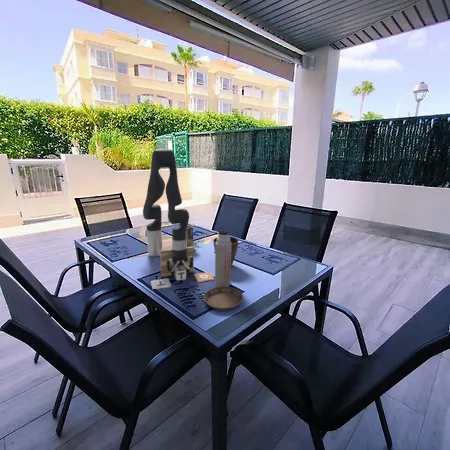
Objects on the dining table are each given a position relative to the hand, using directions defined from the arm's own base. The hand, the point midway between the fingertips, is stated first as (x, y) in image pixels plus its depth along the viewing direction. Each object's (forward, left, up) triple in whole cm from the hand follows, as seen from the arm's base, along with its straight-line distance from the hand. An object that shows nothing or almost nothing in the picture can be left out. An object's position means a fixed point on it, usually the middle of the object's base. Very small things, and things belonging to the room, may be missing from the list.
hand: (180, 276), depth 139 cm
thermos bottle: (+14, +19, -1) cm, 24 cm away
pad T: (+4, -11, -1) cm, 12 cm away
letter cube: (0, 0, -1) cm, 1 cm away
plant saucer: (+30, +13, -1) cm, 33 cm away
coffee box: (-41, +13, -1) cm, 43 cm away
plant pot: (-7, +29, -1) cm, 30 cm away
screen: (-7, 0, -1) cm, 7 cm away
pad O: (+4, +12, -1) cm, 13 cm away
